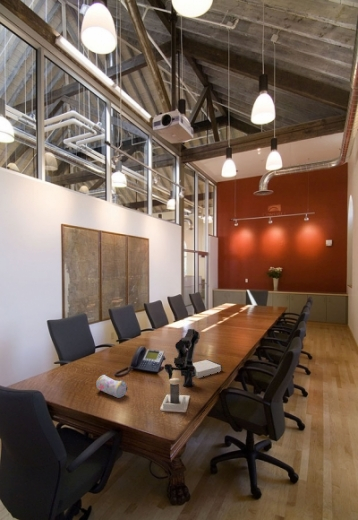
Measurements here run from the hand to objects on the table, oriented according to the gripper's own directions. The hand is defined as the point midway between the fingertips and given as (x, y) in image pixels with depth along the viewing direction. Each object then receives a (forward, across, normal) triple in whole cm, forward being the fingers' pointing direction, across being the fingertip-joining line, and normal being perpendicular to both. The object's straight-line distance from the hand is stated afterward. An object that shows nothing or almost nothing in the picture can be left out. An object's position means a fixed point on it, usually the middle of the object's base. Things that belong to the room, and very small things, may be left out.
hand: (177, 383), depth 158 cm
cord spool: (+10, 0, +3) cm, 11 cm away
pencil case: (+8, -43, +8) cm, 45 cm away
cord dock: (+9, 0, +6) cm, 11 cm away
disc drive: (-28, +4, +45) cm, 53 cm away
